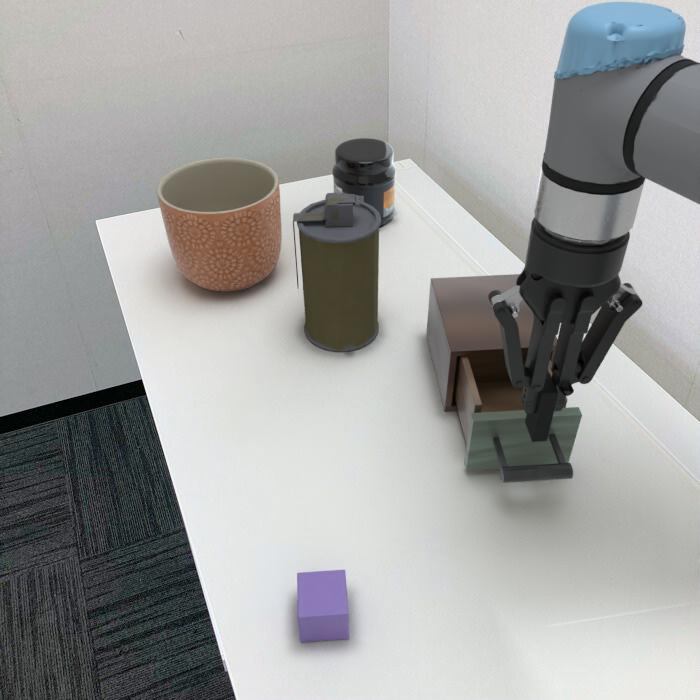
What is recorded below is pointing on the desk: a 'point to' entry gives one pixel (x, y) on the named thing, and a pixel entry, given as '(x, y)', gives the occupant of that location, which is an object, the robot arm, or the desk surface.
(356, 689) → the desk surface
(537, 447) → the green drawer
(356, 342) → the canister
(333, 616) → the lavender cube
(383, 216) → the supplement container
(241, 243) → the planter
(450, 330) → the drawer cabinet
